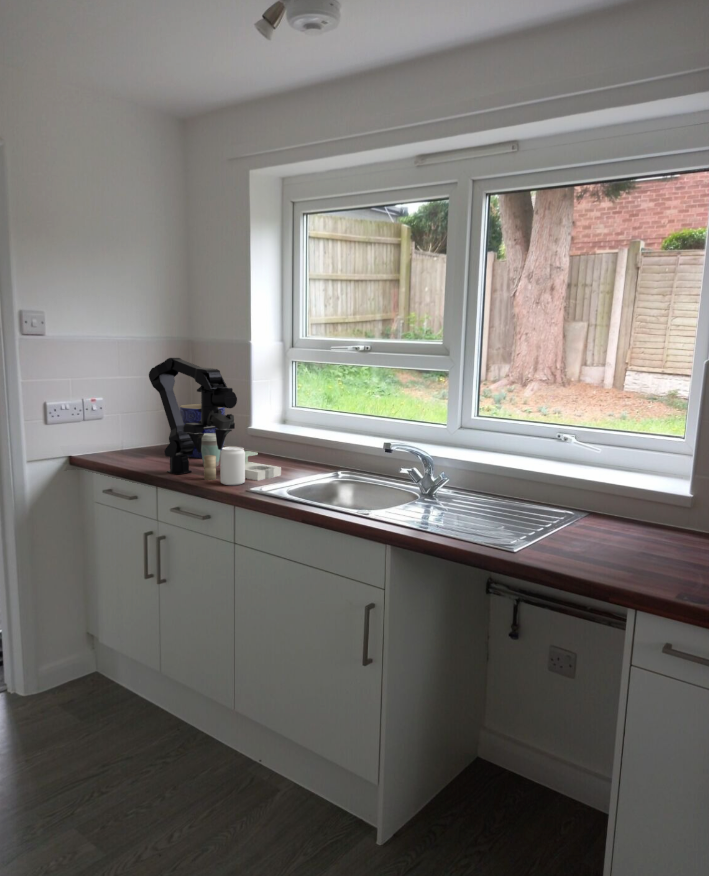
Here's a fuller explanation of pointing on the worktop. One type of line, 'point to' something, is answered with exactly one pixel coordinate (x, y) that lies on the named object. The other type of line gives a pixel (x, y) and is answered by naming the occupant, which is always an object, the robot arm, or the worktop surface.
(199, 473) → the worktop surface
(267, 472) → the socket
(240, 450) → the beverage can
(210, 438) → the coffee cup
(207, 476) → the peg
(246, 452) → the mint green folder
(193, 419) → the planter
